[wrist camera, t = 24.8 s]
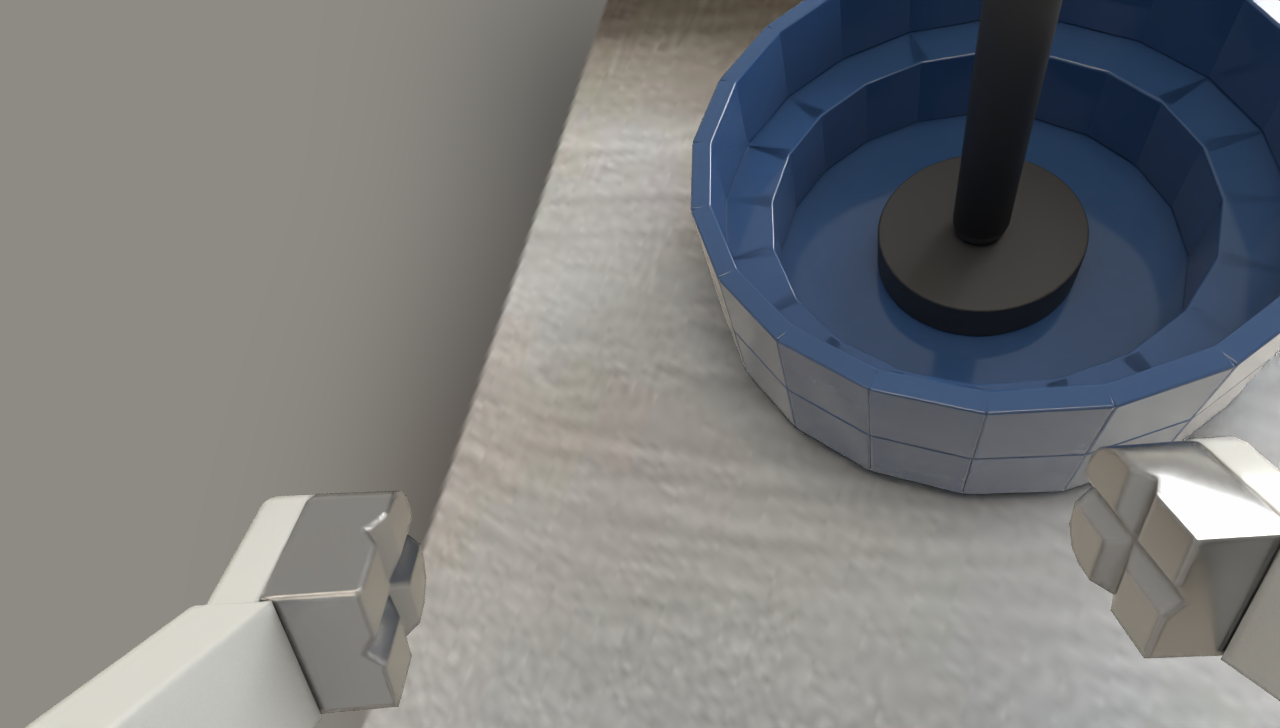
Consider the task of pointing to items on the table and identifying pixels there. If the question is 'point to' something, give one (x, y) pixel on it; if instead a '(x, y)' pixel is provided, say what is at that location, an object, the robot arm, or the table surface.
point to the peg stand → (988, 198)
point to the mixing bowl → (1059, 142)
